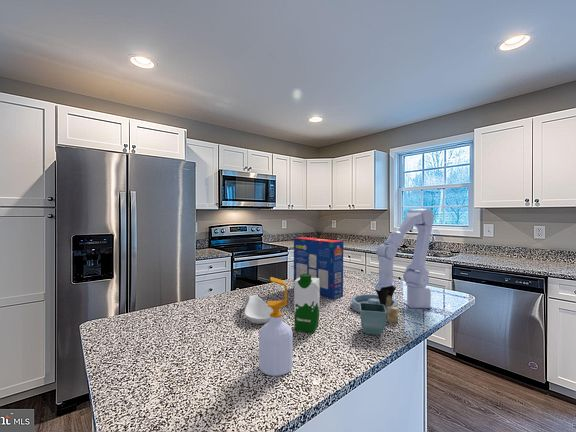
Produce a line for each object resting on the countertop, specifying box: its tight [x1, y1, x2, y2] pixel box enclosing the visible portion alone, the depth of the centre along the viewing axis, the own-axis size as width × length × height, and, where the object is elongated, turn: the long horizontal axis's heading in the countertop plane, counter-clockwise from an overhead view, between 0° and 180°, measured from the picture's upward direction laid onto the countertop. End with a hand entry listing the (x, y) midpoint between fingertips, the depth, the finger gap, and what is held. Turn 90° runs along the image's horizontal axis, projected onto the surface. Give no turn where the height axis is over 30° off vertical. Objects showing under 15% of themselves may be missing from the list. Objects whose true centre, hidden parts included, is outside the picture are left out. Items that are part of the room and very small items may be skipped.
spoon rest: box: [243, 294, 273, 325], centre depth 120 cm, size 24×12×7 cm, turn 21°
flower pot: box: [359, 303, 387, 336], centre depth 104 cm, size 9×9×9 cm
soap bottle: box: [258, 276, 294, 377], centre depth 80 cm, size 9×9×25 cm
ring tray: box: [350, 293, 399, 317], centre depth 130 cm, size 20×20×4 cm
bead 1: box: [385, 295, 391, 306], centre depth 126 cm, size 4×4×5 cm
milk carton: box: [293, 274, 321, 334], centre depth 107 cm, size 9×9×20 cm
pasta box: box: [293, 236, 344, 300], centre depth 155 cm, size 28×8×28 cm, turn 42°
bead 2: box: [386, 306, 399, 324], centre depth 115 cm, size 4×4×5 cm
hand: (385, 303), depth 126 cm, fingers closed on bead 1, 4 cm apart
